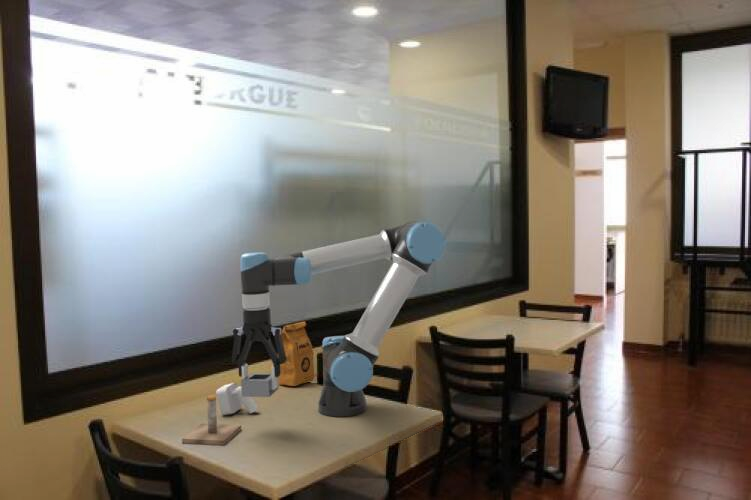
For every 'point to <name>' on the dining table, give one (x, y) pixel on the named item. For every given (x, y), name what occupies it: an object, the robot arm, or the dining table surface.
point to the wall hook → (233, 399)
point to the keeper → (212, 428)
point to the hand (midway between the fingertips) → (260, 387)
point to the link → (257, 385)
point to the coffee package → (296, 356)
